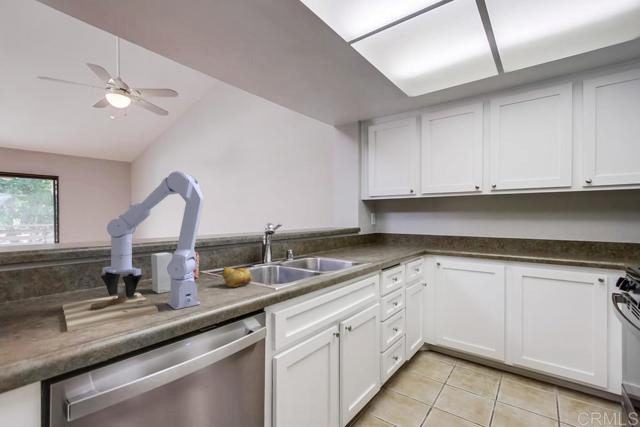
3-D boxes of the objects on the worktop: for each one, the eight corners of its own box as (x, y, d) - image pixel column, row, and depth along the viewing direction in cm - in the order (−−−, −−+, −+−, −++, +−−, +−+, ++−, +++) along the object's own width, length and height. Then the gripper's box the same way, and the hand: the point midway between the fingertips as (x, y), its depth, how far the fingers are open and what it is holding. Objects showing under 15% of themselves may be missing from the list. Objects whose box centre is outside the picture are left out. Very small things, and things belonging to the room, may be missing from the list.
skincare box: (173, 291, 113) (173, 253, 113) (156, 294, 109) (156, 254, 109) (167, 287, 119) (167, 251, 119) (150, 290, 115) (150, 252, 115)
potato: (246, 280, 132) (246, 263, 132) (258, 284, 125) (258, 265, 125) (219, 285, 122) (219, 266, 123) (231, 289, 116) (231, 269, 116)
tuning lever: (95, 309, 87) (95, 293, 87) (88, 308, 88) (88, 292, 88) (139, 297, 100) (139, 282, 100) (132, 296, 101) (132, 281, 101)
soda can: (178, 282, 129) (178, 252, 129) (191, 278, 135) (191, 251, 135) (188, 283, 126) (188, 253, 126) (202, 280, 132) (202, 252, 132)
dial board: (158, 312, 89) (158, 308, 89) (67, 331, 74) (67, 326, 74) (137, 295, 108) (137, 291, 108) (62, 307, 93) (62, 303, 93)
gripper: (93, 255, 95) (93, 297, 95) (127, 257, 91) (127, 300, 91) (113, 253, 102) (113, 291, 101) (146, 254, 98) (146, 294, 97)
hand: (121, 295), depth 97 cm, fingers open, 7 cm apart
